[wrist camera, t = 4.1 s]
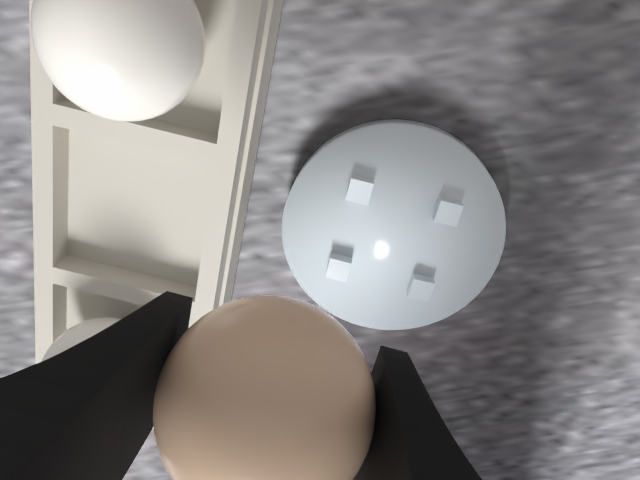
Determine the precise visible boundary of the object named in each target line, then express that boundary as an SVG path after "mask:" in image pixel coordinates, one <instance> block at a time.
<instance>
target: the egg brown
mask: <svg viewBox="0 0 640 480" xmlns="http://www.w3.org/2000/svg"><path fill="white" fill-rule="evenodd" d="M375 418H376V397H375V387H374V383H373V378H372V375H371V371H370V368H369V365H368V363H367V361H366V358H365V356H364V354H363V353H362V351H361V349H360V347H359V346H358V344H357V342H356V341H355V339H354V338H353V337H352V335H351V334H350V333H349V332H348V331H347V330H346V329H345V328H344V327H343V326H342V325H341V324H340V323H339V322H338V321H337V320H336V319H335V318H334V317H332V316H331V315H330V314H328V313H327V312H325V311H324V310H322V309H320V308H319V307H317V306H315V305H312V304H310V303H308V302H306V301H302V300H299V299H296V298H292V297H287V296H282V295H255V296H248V297H244V298H240V299H237V300H233V301H230V302H228V303H225V304H223V305H221V306H219V307H217V308H215V309H214V310H212V311H210V312H209V313H207V314H205V315H204V316H202V317H201V318H200V319H199V320H197V321H196V322H195V323H194V324H193V325H192V326H191V327H189V328H188V329H187V330H186V332H185V333H184V334H183V335H182V336H181V337H180V338H179V340H178V341H177V343H176V344H175V345H174V347H173V348H172V350H171V352H170V353H169V355H168V357H167V359H166V361H165V363H164V365H163V368H162V370H161V372H160V375H159V378H158V382H157V386H156V390H155V395H154V404H153V426H154V434H155V441H156V444H157V448H158V451H159V454H160V457H161V460H162V462H163V464H164V467H165V469H166V470H167V472H168V474H169V475H170V477H171V479H172V480H353V479H354V477H355V476H356V474H357V473H358V472H359V470H360V468H361V466H362V463H363V461H364V459H365V457H366V455H367V453H368V451H369V447H370V444H371V440H372V437H373V433H374V427H375Z"/></svg>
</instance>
